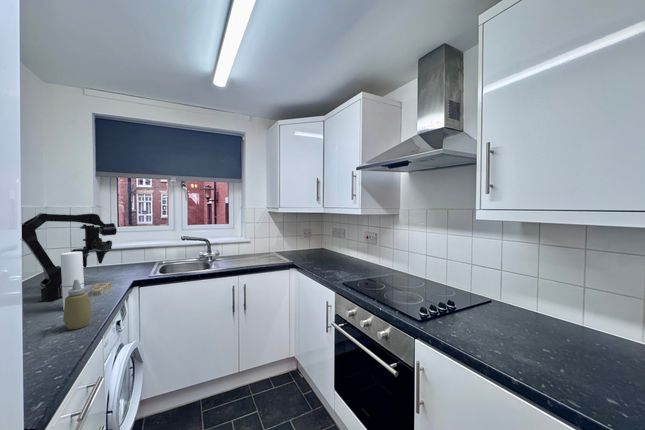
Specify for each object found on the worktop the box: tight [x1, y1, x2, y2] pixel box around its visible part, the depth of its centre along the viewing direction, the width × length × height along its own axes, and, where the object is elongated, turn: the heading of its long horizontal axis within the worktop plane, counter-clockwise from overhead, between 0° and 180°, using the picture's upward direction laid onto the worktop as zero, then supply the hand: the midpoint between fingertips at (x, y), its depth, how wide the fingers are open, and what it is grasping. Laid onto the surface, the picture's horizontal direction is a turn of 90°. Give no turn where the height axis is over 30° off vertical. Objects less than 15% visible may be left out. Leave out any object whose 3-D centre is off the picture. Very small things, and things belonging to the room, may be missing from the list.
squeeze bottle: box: [63, 280, 93, 330], centre depth 101 cm, size 8×8×18 cm
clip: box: [84, 284, 95, 299], centre depth 130 cm, size 8×3×6 cm, turn 19°
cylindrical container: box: [60, 251, 85, 311], centre depth 119 cm, size 7×7×25 cm
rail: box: [93, 281, 113, 296], centre depth 142 cm, size 14×7×2 cm, turn 19°
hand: (92, 265), depth 143 cm, fingers open, 9 cm apart
